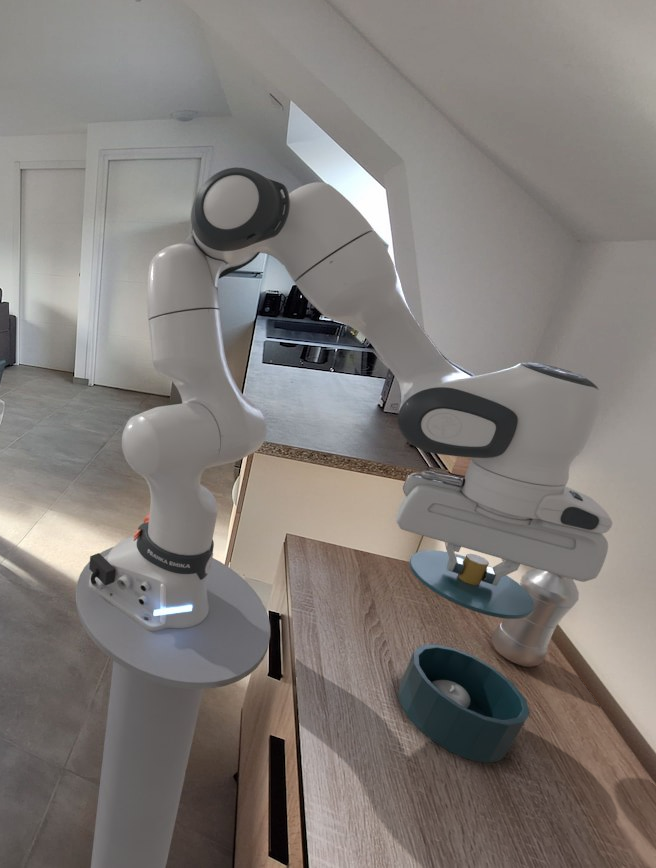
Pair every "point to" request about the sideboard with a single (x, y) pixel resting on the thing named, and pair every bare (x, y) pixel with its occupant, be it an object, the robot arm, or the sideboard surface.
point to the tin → (454, 724)
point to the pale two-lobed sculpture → (453, 692)
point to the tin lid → (471, 585)
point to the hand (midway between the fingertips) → (470, 575)
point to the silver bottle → (536, 618)
